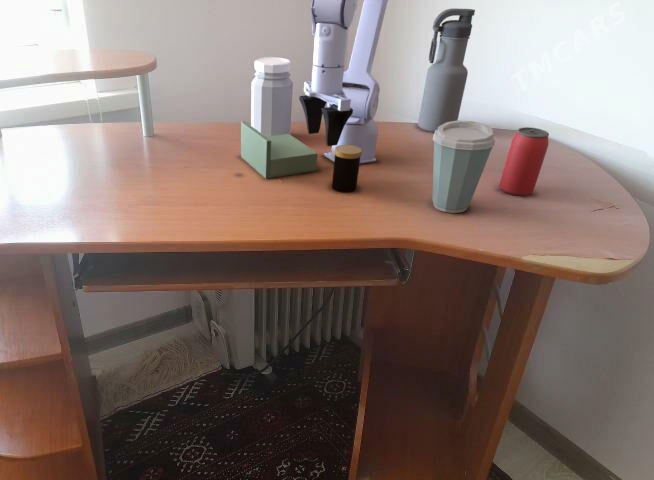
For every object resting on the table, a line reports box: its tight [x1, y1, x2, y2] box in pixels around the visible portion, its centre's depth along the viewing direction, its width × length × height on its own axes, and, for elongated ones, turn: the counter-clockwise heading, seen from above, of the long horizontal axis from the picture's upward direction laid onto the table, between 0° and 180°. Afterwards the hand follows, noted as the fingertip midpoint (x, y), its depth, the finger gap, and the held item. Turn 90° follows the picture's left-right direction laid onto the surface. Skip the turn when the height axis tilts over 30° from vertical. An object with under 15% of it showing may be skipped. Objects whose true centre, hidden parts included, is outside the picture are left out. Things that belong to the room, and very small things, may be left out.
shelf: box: [240, 121, 319, 180], centre depth 119 cm, size 12×14×8 cm
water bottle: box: [417, 8, 476, 133], centre depth 137 cm, size 10×10×28 cm
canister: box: [331, 145, 362, 193], centre depth 108 cm, size 5×5×8 cm
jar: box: [250, 56, 294, 137], centre depth 131 cm, size 10×10×18 cm
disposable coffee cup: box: [432, 119, 496, 214], centre depth 100 cm, size 11×11×15 cm
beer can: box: [498, 127, 550, 197], centre depth 107 cm, size 7×7×12 cm
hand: (322, 139), depth 106 cm, fingers open, 7 cm apart
